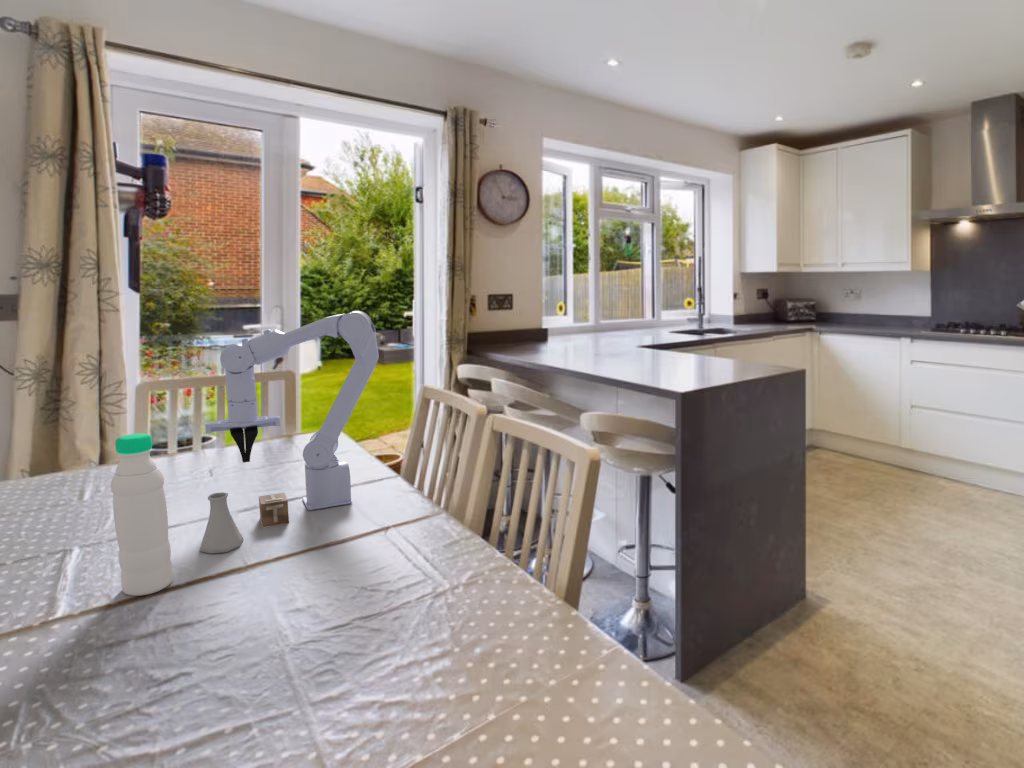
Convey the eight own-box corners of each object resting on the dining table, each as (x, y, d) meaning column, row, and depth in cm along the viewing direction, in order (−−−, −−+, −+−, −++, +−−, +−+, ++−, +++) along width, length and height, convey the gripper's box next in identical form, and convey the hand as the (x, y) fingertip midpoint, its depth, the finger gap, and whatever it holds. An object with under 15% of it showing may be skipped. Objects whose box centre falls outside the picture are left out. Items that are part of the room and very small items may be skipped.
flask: (229, 555, 103) (225, 503, 101) (191, 554, 103) (186, 501, 102) (250, 538, 110) (247, 489, 108) (214, 537, 111) (210, 487, 109)
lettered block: (285, 514, 122) (284, 491, 121) (289, 523, 117) (287, 499, 117) (260, 519, 120) (258, 495, 119) (262, 528, 115) (261, 503, 114)
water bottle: (161, 571, 97) (147, 428, 93) (182, 583, 93) (168, 434, 89) (114, 588, 91) (97, 437, 87) (134, 602, 87) (117, 444, 83)
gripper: (203, 406, 115) (208, 470, 118) (280, 400, 122) (283, 461, 124) (203, 400, 122) (208, 461, 124) (276, 394, 128) (279, 453, 131)
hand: (246, 461), depth 125 cm, fingers closed
